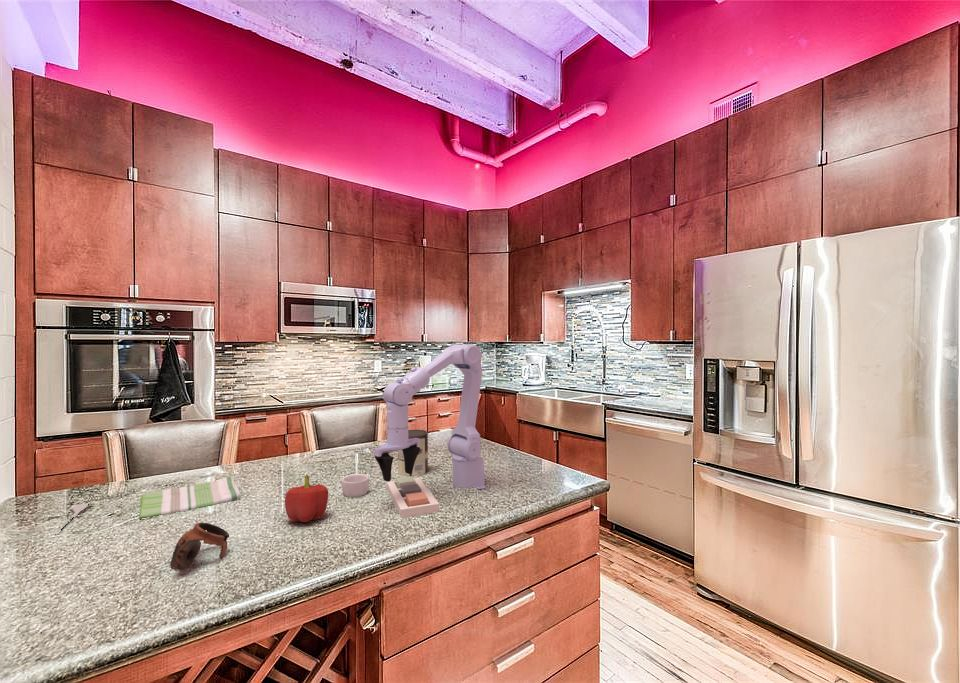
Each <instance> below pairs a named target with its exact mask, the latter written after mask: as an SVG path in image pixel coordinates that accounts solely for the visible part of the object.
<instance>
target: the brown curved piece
mask: <svg viewBox="0 0 960 683" xmlns="http://www.w3.org/2000/svg"><path fill="white" fill-rule="evenodd" d="M229 537H230V534H229V532H228V531H226V530H225V529H224V528H222V527H219V525H218V526H217V525H215V524H212V523H208V522H198V523H195V525H194V527H192V528H191V529H189V530H188V531H186V532H185V533H183V534H182V535H181V536H180V538H179V539H178V541H177V543H175V544H176V545H175V547H174V550H173V553H172V556H171V560H170V567H172V569H174V570H176V569H178V568H179V567H180V566H181V567H182V568H189V567H191V566H193V563H194V561H195V559H196V556H197V555H198V553H199V551H200V550H201V547H202V542H201V541H203V544H206V545H207V544H208V545H212V546H213V545H215V546H217V547H220V548H221V549H220V553H219V555H218V556H219V558H220V559H221V557H222V558H223V557H224V556H225V554H226V550H227V549H228V541H227V540H228V538H229ZM179 569H180V568H179ZM179 569H178V570H179Z"/></svg>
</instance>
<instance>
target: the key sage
mask: <svg viewBox="0 0 960 683" xmlns="http://www.w3.org/2000/svg"><path fill="white" fill-rule="evenodd" d="M395 481H396V487H397V489H400V488H401V486H403V485H411V484H416V481H415V480H414V476H401V477H396V478H395Z"/></svg>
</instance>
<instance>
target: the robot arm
mask: <svg viewBox="0 0 960 683" xmlns="http://www.w3.org/2000/svg"><path fill="white" fill-rule="evenodd" d="M448 346H449V347H445V348H444V350H443V351H442V352H441V353H439V355H437V356H436V357H435V358H434V359H433V360H431V361H430V362H428V364H426V365H425V366H423V367H420V366H416V367H411V369H409V372H408V373H407V374H405V375H404V376H403V377H402V376H401V377H399V378H397V380H396V382H390V383H388V384H387V385H386V386H385V388H384V389H383V390H384V391H383V392H382V393H381V394H382V398H383V400H384V402H385V404H386V406H385V407H386V443H384V444H382V445H380V446H377V447H373V456H374V458H375V460H376V462H377V464H378V466H379V469H380V472H381V475H382V477H383V478H382V479H383V481H384V482H390V481H392V466H393V461H394V459H395V458H394V456H391V455H390V453H394V452H398V450H402V451H403V455H404V462H405V473H408V474H412V471H413V467H414V463H415V460H416V458H417V456H418V454H419V452H420V447H417V446H419V445H420V439H419V438H411V439H408V430H409V403H411V401H412V399H413V397H414V395H416V393H418V392H419V391H421V390H422V389H423V388H425V387H426V386H427V385H429V384H430V380H431V377H433V376H435V375H436V374H437V373H439V372H441V371H442V370H444V369H445V368H447V367H448V366H451V365H453V366H454V367H456V368H457V369H459V370H460V372H461V373H462V375H463V380H462V381H463V382H462V383H463V384H462V391H461V398H460V406H459V413H458V420H457V425H456V426H455V427H454V428H453V429H452V430H451V434H450V437H449V439H448V440H447V451H448V452H449V453H450V455H451V458H452V486H453V487H455V488H459V489H468V488H469V489H470V488H473V487H474V488H475V489H476V490H482V489H483V490H484V489H486V486H485V463H484V460H483V458H482V457H481V456H480V454H481V452H482V444H481V434H480V433H479V432H478V430H477V428H476V423H477V416H478V408H479V403H480V402H479V400H480V392H481V385H482V384H481V383H482V378H483V367H482V366H483V365H482V358H483V352H482V351H481V349H480V348H479V347H478V345H476V344H474V343H473V344H471V343H470V344H458V343H452V344H450V345H448Z"/></svg>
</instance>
